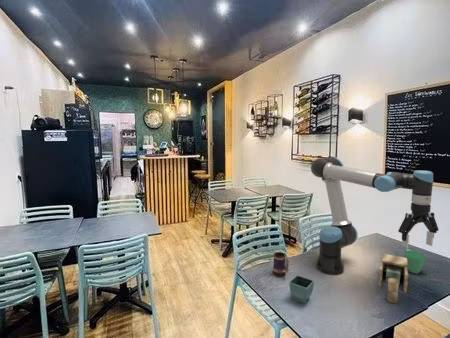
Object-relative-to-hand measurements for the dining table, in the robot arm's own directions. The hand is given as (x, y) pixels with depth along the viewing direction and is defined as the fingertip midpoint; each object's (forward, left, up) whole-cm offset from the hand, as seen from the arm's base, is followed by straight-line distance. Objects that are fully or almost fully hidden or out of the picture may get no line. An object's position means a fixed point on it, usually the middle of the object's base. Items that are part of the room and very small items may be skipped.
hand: (417, 246), depth 128 cm
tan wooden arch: (-9, +4, -23) cm, 25 cm away
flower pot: (-45, -37, -23) cm, 62 cm away
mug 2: (0, +24, -23) cm, 33 cm away
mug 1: (-61, -21, -23) cm, 68 cm away
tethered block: (-9, -5, -23) cm, 25 cm away
